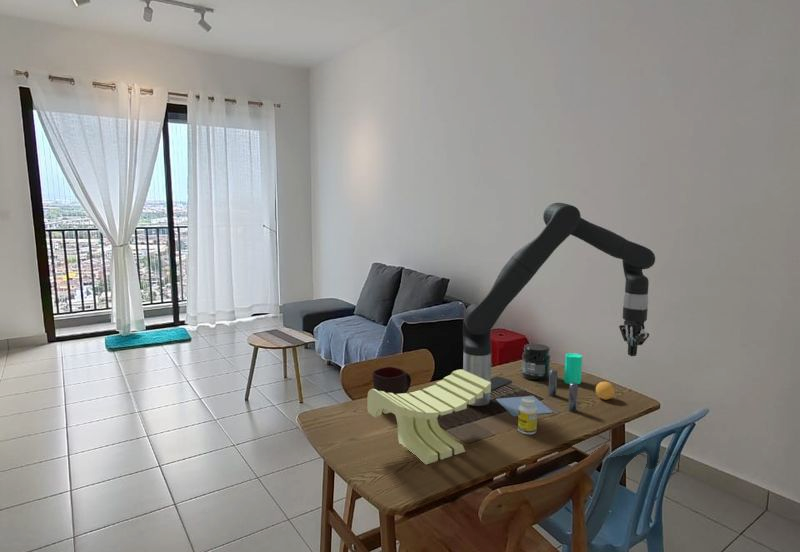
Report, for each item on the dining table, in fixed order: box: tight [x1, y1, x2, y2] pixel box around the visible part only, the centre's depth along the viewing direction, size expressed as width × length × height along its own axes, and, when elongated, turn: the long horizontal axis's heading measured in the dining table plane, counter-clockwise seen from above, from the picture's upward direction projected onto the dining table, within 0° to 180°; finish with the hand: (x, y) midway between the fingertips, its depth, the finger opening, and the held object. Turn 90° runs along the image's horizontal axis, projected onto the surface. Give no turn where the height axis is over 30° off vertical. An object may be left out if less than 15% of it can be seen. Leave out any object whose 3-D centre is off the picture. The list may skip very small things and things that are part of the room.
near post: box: [567, 382, 579, 413], centre depth 159 cm, size 3×3×9 cm
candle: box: [563, 352, 583, 385], centre depth 184 cm, size 6×6×12 cm
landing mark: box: [495, 395, 554, 417], centre depth 163 cm, size 14×14×1 cm
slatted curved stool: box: [366, 368, 492, 465], centre depth 135 cm, size 30×16×18 cm, turn 122°
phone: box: [490, 376, 513, 392], centre depth 183 cm, size 7×1×15 cm
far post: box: [548, 368, 558, 398], centre depth 172 cm, size 3×3×9 cm
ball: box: [595, 381, 616, 401], centre depth 169 cm, size 6×6×6 cm
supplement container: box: [521, 343, 552, 382], centre depth 190 cm, size 10×10×12 cm
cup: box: [372, 366, 412, 395], centre depth 162 cm, size 10×14×12 cm
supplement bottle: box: [517, 396, 538, 435], centre depth 144 cm, size 5×5×10 cm
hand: (632, 355), depth 169 cm, fingers closed
